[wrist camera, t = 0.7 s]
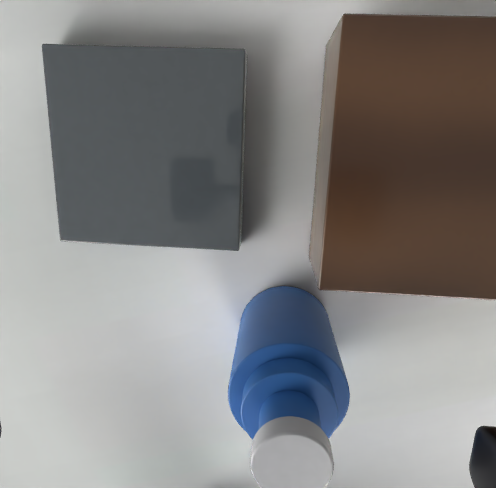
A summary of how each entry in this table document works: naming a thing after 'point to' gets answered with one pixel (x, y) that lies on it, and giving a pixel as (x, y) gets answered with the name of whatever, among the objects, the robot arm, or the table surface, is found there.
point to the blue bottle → (288, 388)
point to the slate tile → (147, 144)
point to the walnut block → (407, 157)
